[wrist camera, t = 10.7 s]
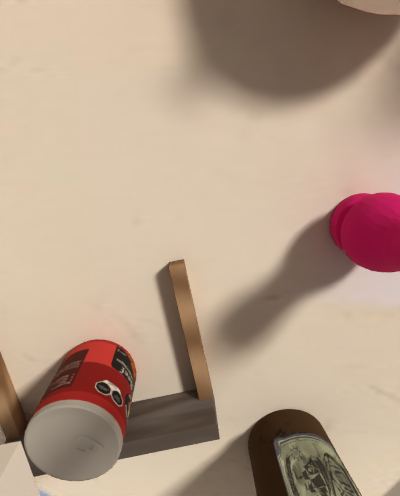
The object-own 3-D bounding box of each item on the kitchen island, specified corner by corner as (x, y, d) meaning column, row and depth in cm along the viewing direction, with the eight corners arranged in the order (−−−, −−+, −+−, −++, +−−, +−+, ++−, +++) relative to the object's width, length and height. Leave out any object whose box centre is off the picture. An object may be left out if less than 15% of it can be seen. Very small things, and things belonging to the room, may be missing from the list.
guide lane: (-34, 303, 38) (-73, 330, 32) (183, 259, 38) (184, 278, 32) (20, 439, 42) (-6, 484, 36) (214, 399, 42) (219, 439, 36)
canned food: (136, 399, 42) (120, 483, 31) (65, 396, 41) (24, 481, 30) (139, 338, 40) (123, 406, 29) (64, 335, 39) (20, 402, 29)
